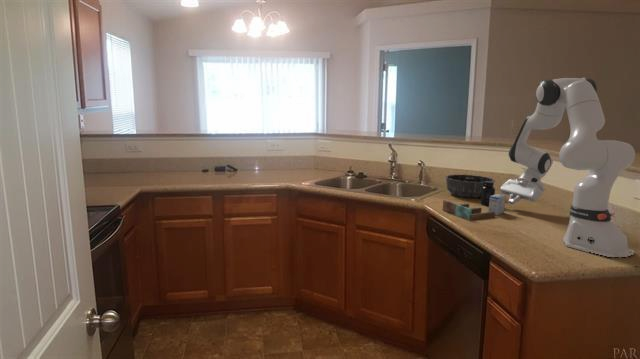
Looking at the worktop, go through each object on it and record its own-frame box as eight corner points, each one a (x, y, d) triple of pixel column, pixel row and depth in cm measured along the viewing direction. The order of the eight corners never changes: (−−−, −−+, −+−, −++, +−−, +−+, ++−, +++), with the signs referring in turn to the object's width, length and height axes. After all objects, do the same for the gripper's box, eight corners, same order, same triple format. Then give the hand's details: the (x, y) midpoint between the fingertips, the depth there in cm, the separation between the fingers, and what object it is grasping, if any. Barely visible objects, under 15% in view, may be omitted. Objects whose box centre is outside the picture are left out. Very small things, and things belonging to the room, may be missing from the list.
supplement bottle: (496, 204, 220) (498, 181, 217) (490, 206, 215) (493, 183, 213) (483, 202, 224) (485, 180, 222) (477, 204, 219) (479, 181, 217)
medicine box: (495, 211, 207) (496, 193, 205) (504, 212, 204) (506, 195, 202) (487, 213, 201) (489, 196, 200) (497, 215, 198) (498, 197, 197)
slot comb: (494, 216, 196) (495, 206, 195) (468, 220, 190) (469, 209, 189) (467, 207, 212) (468, 198, 211) (442, 210, 206) (443, 200, 205)
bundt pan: (457, 188, 260) (458, 172, 259) (500, 195, 242) (502, 178, 241) (435, 194, 242) (437, 177, 240) (481, 202, 224) (482, 184, 222)
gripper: (507, 174, 215) (491, 194, 213) (542, 181, 197) (525, 203, 195) (513, 182, 218) (497, 202, 216) (548, 189, 199) (531, 211, 197)
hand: (510, 202), depth 205 cm, fingers closed
